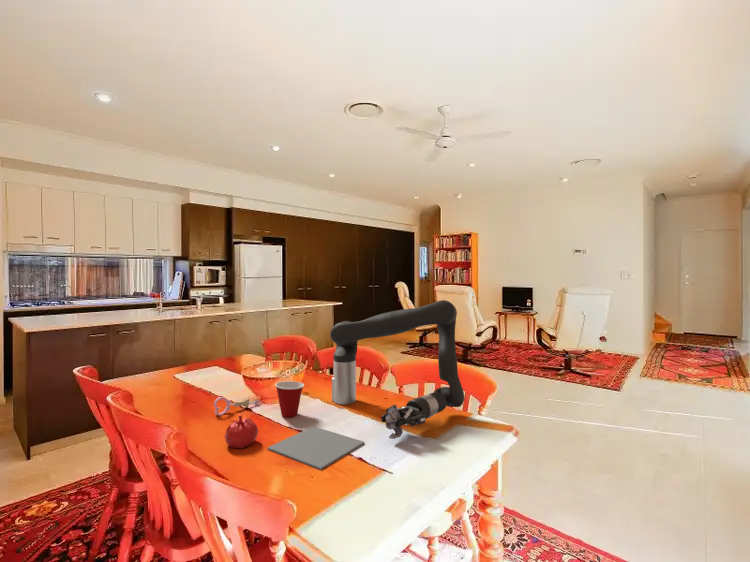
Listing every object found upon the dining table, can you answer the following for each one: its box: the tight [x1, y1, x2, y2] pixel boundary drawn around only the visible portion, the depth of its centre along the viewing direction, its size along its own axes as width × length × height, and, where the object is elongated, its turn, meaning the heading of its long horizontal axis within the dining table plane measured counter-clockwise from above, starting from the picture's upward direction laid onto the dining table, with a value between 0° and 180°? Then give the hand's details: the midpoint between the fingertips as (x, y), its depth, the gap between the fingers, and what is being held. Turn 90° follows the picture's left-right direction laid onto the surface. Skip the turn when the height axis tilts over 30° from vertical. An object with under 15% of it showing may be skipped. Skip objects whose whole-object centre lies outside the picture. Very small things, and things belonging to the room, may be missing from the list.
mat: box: [267, 425, 365, 471], centre depth 123 cm, size 22×20×1 cm
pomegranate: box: [224, 414, 259, 449], centre depth 125 cm, size 10×10×9 cm
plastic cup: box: [274, 380, 305, 419], centre depth 150 cm, size 11×11×12 cm
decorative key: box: [213, 396, 262, 417], centre depth 156 cm, size 7×1×20 cm
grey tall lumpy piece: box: [385, 407, 403, 440], centre depth 127 cm, size 5×5×10 cm
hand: (388, 421), depth 125 cm, fingers closed on grey tall lumpy piece, 5 cm apart
